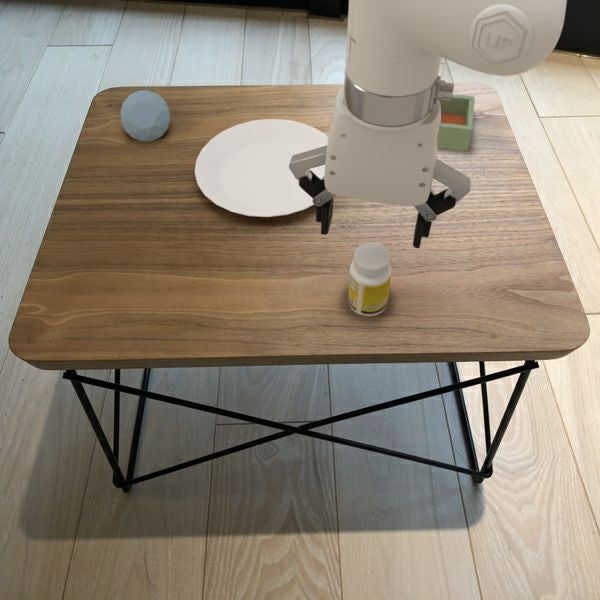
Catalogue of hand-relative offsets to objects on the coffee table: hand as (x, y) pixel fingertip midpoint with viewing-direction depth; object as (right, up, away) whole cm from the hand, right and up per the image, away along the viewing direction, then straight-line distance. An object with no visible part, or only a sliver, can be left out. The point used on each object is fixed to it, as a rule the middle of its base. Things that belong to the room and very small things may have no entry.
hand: (371, 231), depth 65 cm
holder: (+11, +19, +30) cm, 37 cm away
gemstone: (-31, +19, +31) cm, 48 cm away
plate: (-12, +11, +24) cm, 29 cm away
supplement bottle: (+1, -8, +10) cm, 12 cm away
